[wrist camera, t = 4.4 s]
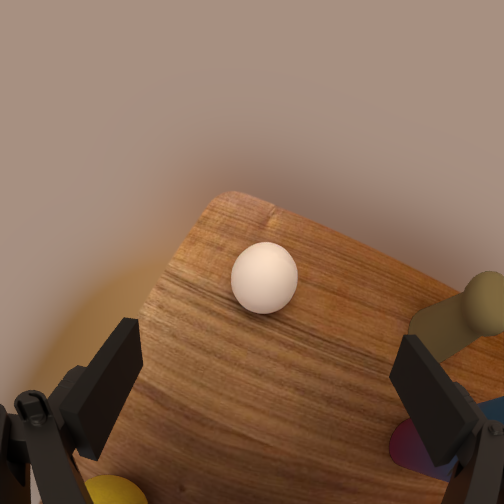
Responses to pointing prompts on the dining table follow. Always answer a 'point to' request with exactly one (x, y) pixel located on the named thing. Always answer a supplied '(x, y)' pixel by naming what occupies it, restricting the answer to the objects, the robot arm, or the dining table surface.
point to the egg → (264, 278)
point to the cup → (415, 454)
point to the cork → (462, 317)
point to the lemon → (114, 490)
